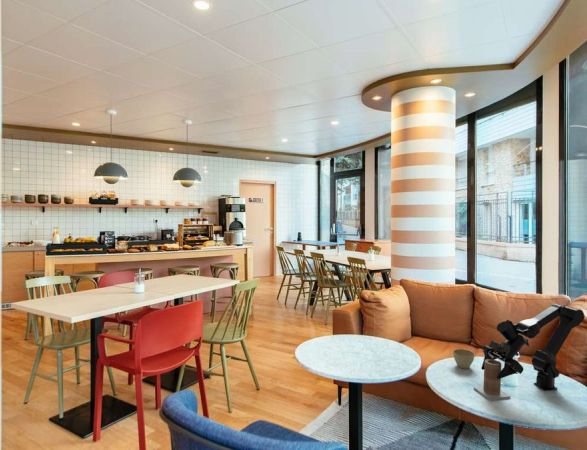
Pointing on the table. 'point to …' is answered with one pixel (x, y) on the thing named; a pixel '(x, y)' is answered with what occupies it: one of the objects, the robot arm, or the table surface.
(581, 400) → the table surface
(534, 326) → the robot arm
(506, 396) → the post stand
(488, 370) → the brown faceted vase
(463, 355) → the flower pot
